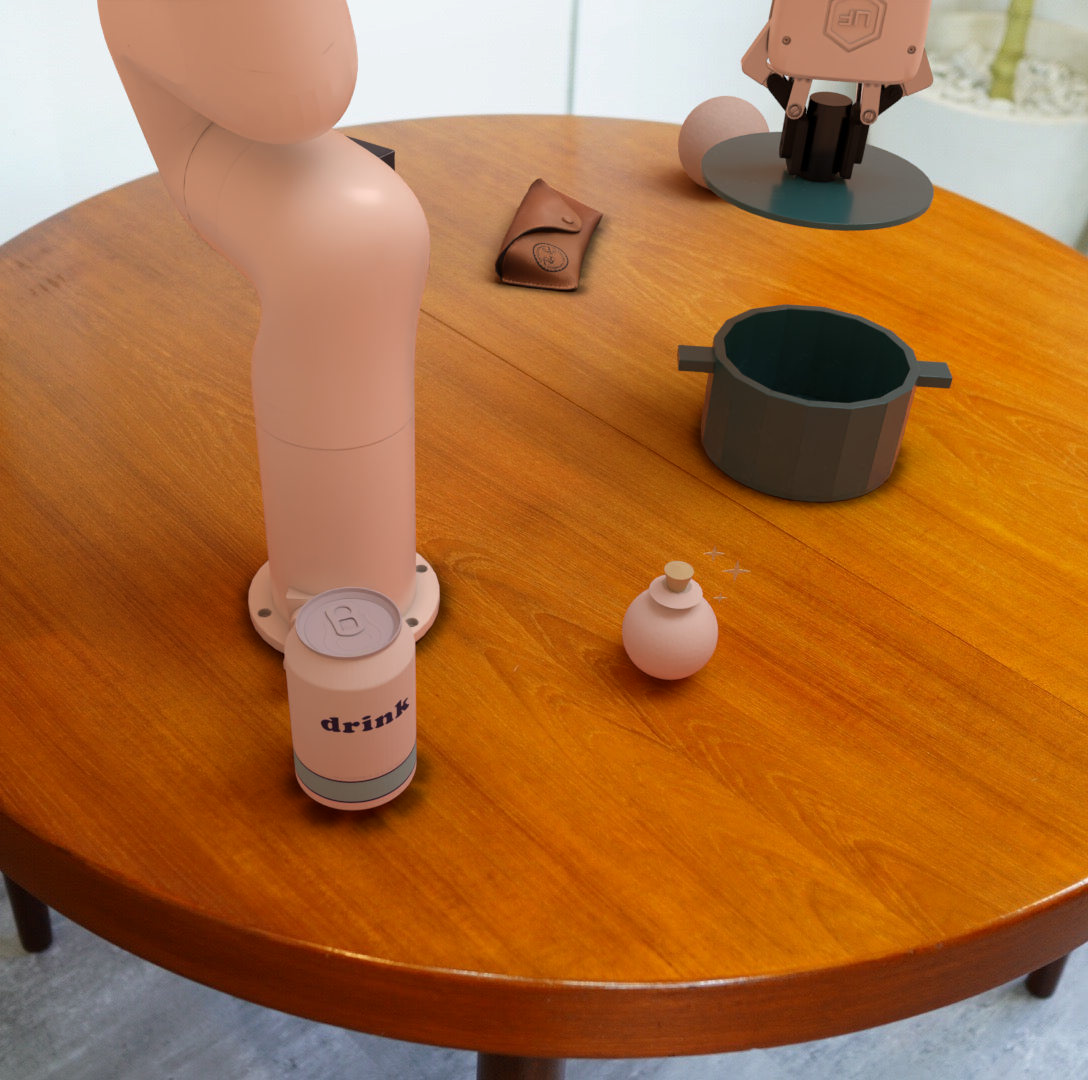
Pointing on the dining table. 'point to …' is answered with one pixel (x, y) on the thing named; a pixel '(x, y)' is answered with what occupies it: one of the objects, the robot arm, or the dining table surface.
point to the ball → (715, 129)
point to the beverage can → (352, 698)
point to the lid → (818, 177)
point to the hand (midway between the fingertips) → (817, 167)
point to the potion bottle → (672, 624)
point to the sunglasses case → (546, 240)
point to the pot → (807, 400)
